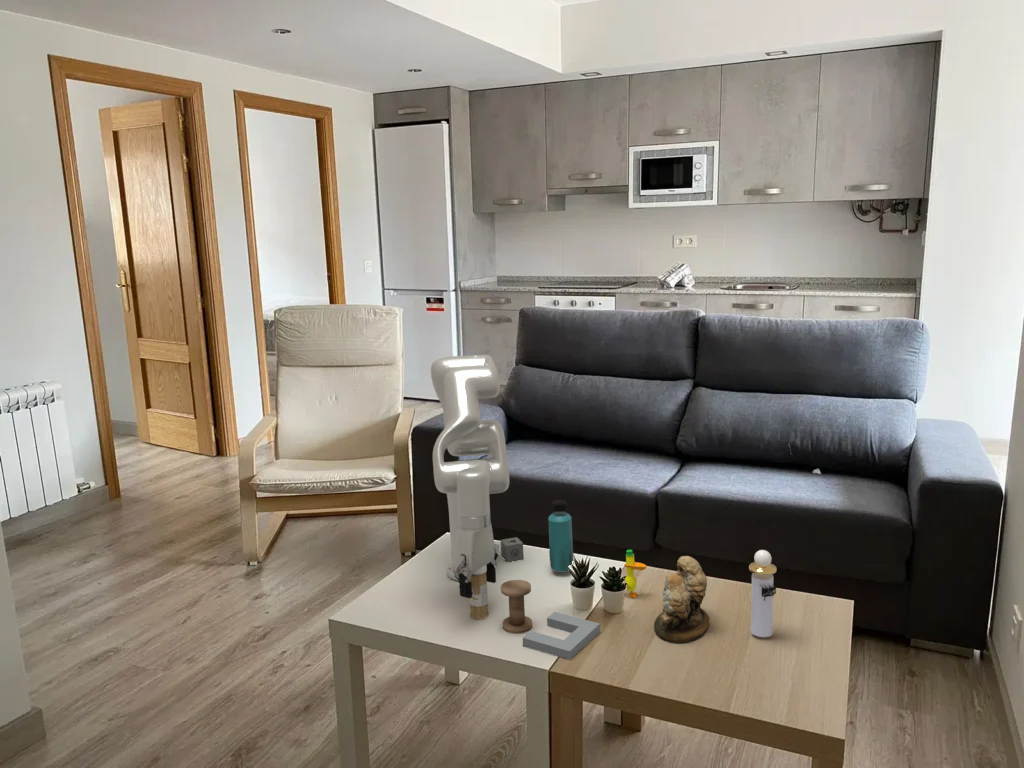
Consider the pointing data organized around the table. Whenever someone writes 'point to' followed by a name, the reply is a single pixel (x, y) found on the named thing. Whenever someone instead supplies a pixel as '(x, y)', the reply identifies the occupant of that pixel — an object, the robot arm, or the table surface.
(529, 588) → the spool
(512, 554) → the dice cube
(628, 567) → the toy figure
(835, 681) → the table surface
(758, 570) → the perfume bottle
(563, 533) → the beverage bottle
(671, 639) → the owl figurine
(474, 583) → the sprinkles bottle
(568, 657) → the notched board
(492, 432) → the robot arm
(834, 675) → the table surface
